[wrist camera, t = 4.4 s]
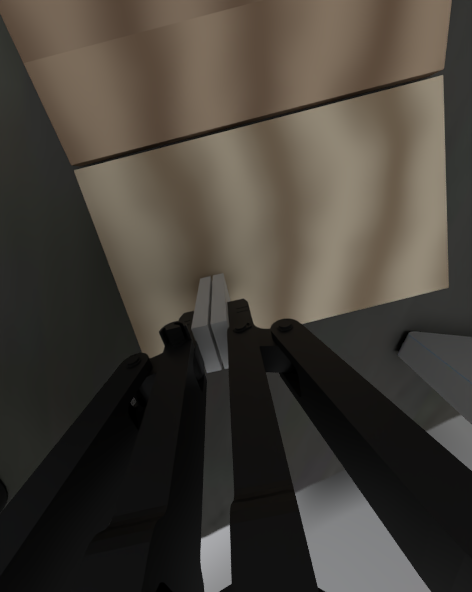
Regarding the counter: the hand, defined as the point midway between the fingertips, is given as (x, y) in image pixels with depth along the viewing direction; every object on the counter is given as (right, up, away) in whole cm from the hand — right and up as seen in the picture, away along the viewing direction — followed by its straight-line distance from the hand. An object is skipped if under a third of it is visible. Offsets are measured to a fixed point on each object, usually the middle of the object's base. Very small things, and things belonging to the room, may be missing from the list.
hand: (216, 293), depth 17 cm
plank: (+4, +4, +1) cm, 6 cm away
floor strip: (+1, +16, -3) cm, 16 cm away
